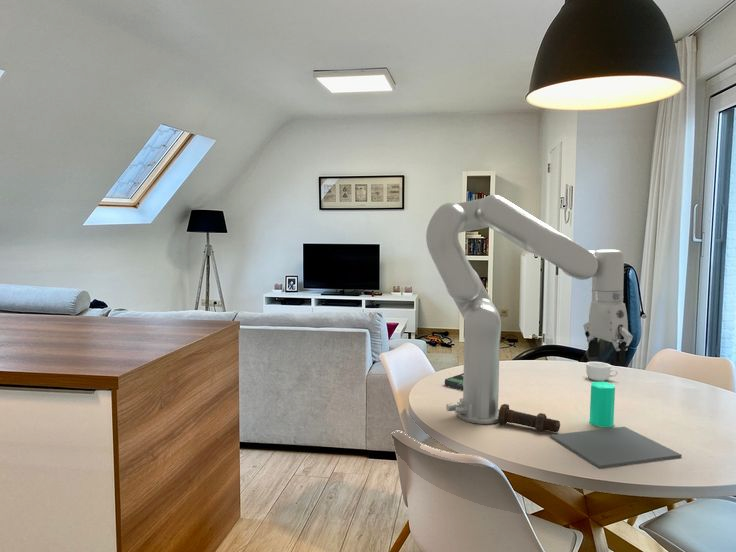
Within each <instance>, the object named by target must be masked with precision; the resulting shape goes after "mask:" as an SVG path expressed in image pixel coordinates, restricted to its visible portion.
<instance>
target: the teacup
mask: <svg viewBox="0 0 736 552" xmlns="http://www.w3.org/2000/svg"><path fill="white" fill-rule="evenodd" d="M611 367H612V364H610V363H606V362H601V361H587V362H586V364H585V368H586V369H585V370H586V375H587V377H588V378H589V379H590V380H592V382H603V379H604V382H606V381H607V380H608V379H609V378H614V377H616V376H617V375H618V370H617V369H615V368H611ZM613 371H615V374H614V375H611V373H612V372H613Z"/></svg>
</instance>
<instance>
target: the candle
mask: <svg viewBox="0 0 736 552" xmlns="http://www.w3.org/2000/svg"><path fill="white" fill-rule="evenodd" d="M615 394H616V386H615V385H614V384H613V383H610V382H608V381H604V379H603V381H592V382H591V384H590V401H589V402H590V405H589V423H590V424H591V425H593V426H596V427H600V428H613V427H614V423H615V422H614V421H615V420H614V415H615V400H616V399H615Z"/></svg>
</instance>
